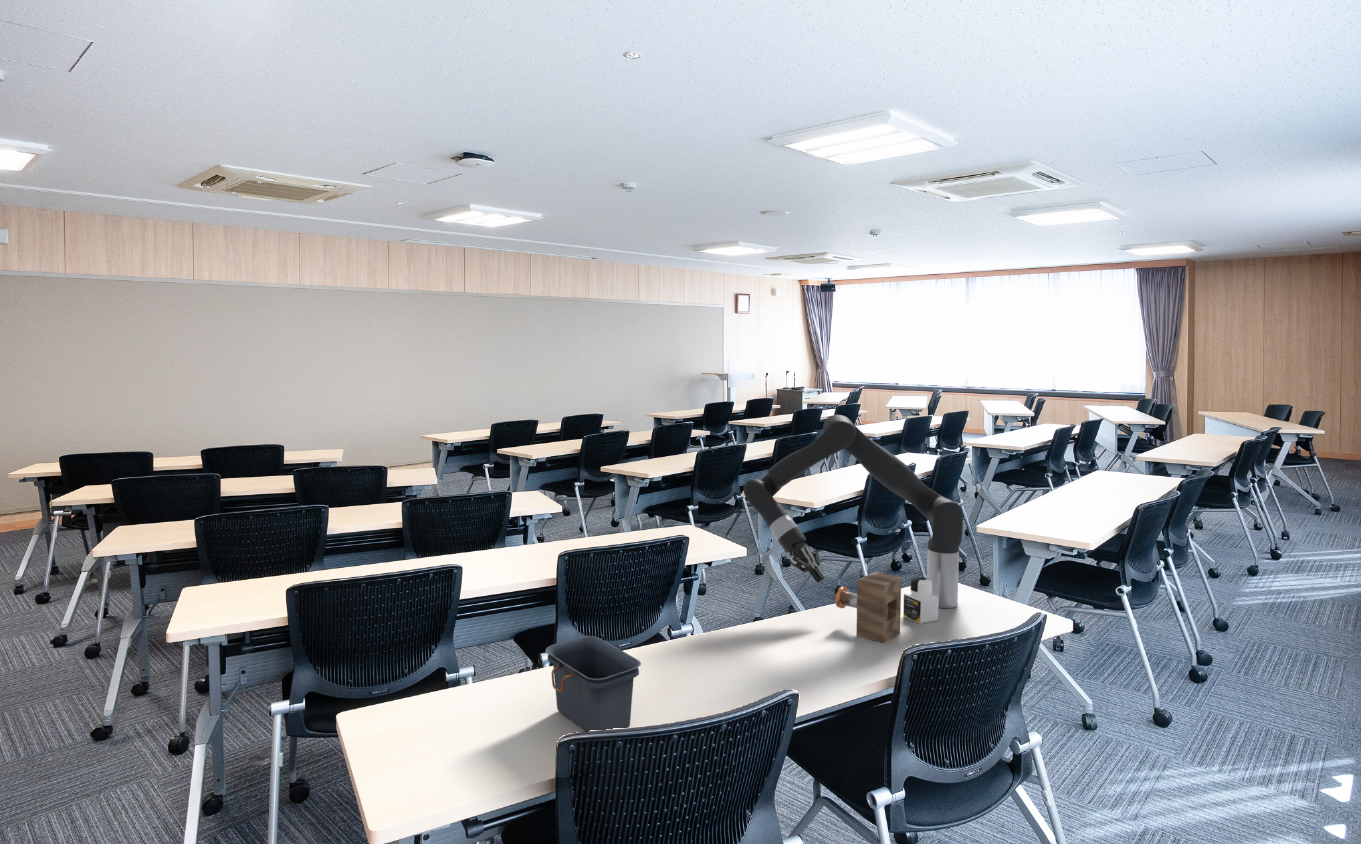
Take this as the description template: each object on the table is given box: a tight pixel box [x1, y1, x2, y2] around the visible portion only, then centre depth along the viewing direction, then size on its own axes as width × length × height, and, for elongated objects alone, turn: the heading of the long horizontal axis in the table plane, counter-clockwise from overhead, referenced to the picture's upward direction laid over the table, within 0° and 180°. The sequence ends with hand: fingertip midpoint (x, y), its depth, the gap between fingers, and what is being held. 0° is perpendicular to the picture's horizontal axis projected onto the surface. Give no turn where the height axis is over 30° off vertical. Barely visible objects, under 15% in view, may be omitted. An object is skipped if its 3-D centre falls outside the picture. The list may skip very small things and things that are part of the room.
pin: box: [834, 586, 857, 609], centre depth 211 cm, size 6×13×6 cm, turn 47°
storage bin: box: [545, 635, 642, 732], centre depth 158 cm, size 21×16×14 cm
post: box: [855, 571, 902, 644], centre depth 207 cm, size 10×8×16 cm
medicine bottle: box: [902, 576, 939, 625], centre depth 220 cm, size 7×7×12 cm
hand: (821, 580), depth 220 cm, fingers closed
